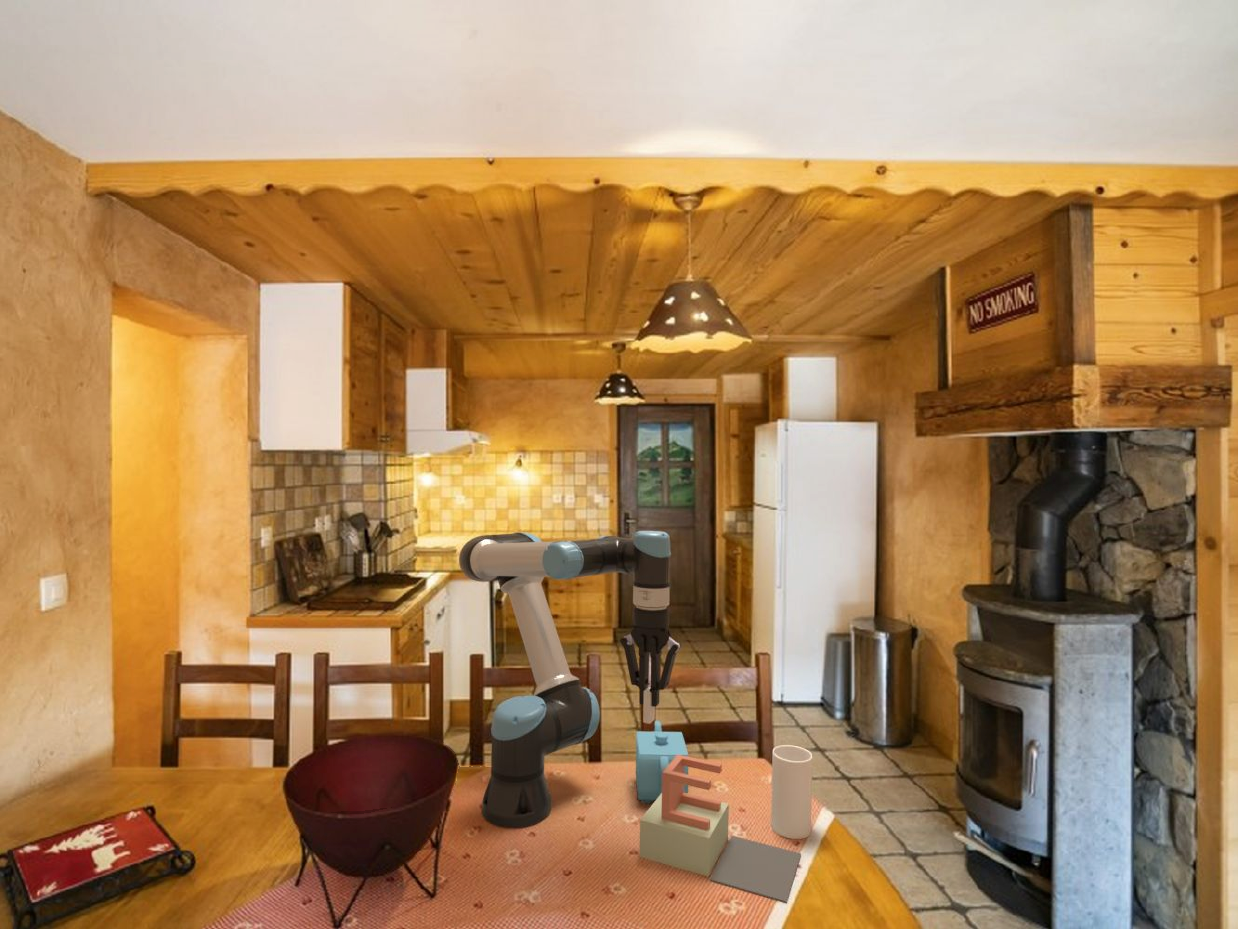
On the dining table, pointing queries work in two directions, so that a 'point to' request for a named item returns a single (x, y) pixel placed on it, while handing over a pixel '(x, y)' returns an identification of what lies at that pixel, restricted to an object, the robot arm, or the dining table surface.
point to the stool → (675, 793)
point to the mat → (757, 868)
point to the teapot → (656, 760)
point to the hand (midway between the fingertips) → (648, 720)
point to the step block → (684, 838)
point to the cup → (791, 791)
